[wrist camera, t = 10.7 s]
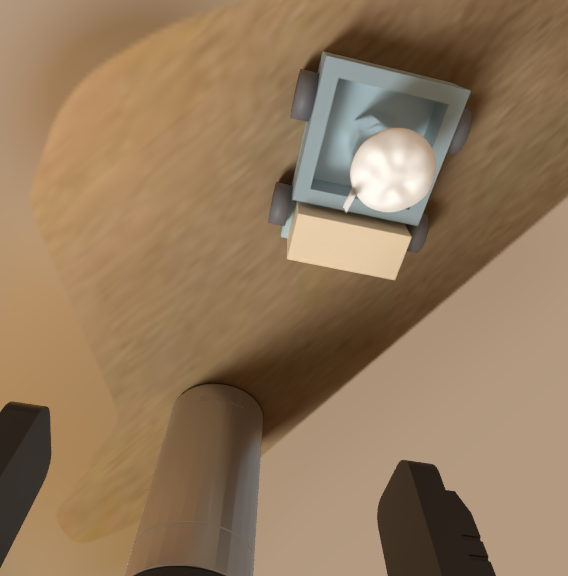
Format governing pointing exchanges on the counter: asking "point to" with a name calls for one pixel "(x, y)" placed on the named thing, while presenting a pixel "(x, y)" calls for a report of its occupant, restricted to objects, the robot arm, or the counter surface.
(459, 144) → the chassis
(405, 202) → the milkshake
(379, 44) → the counter surface
